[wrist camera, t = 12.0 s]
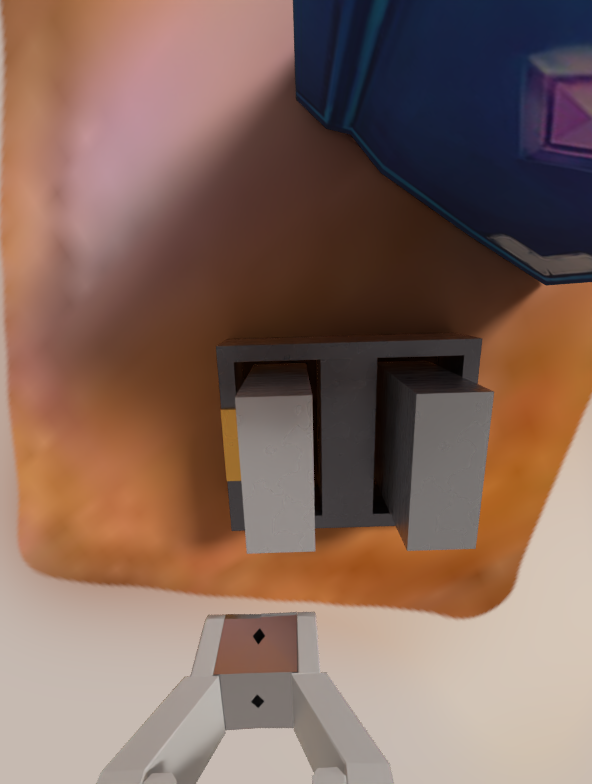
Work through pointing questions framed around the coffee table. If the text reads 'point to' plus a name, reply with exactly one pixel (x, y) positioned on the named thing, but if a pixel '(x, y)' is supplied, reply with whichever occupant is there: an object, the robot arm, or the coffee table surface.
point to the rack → (382, 431)
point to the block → (277, 458)
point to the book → (467, 113)
